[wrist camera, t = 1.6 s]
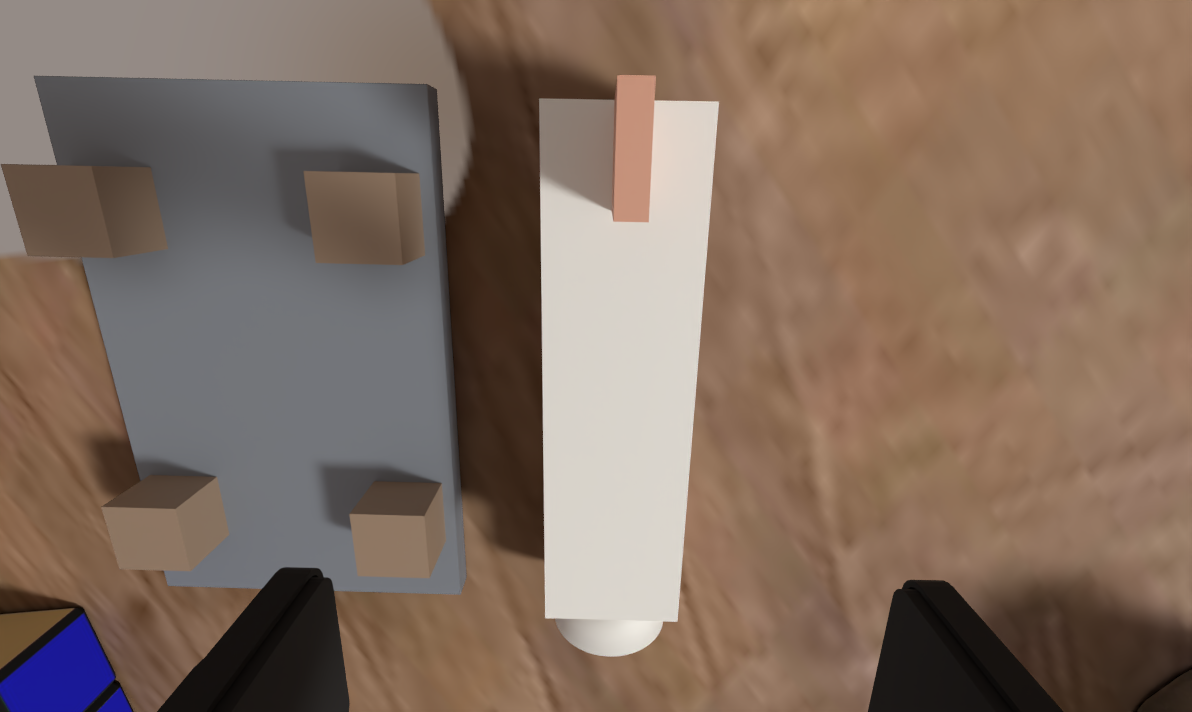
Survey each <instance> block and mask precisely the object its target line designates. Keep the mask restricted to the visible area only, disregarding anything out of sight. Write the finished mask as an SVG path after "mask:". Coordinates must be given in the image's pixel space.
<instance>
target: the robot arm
mask: <svg viewBox="0 0 1192 712" xmlns="http://www.w3.org/2000/svg"><path fill="white" fill-rule="evenodd" d="M157 712H349V695H348V688H347V681H346V674H345V667H344V660H343V652H342V645H341V638H340V631H339V624H338V617H337V610H336V603H335V596H334V589H333V583H332V580H331V579H330V578H328V577H323V573H322V571H321V570H320V569H318V568H298V567H283V568H281V569H279V570H278V571H277V572H276V573H275V574H274V575H273V576H272V578H271V579H270V580H269V581H268V582H267V584H266V585H265V586H264V587H263V588H262V590H261V591H260V592H259V593H258V594H257V596H256V597H255V598H254V599H253V600H252V602H251V603H250V604H249V605H248V606H247V608H246V609H245V610H244V611H243V612H242V614H241V615H240V616H239V617H238V618H237V620H236V621H235V622H234V623H233V624H232V626H231V627H230V628H229V629H228V630H227V632H226V633H225V634H224V635H223V636H222V638H221V639H220V640H219V641H218V642H217V644H216V645H215V646H214V647H213V648H212V650H211V651H210V652H209V653H208V654H207V656H206V657H205V658H204V659H203V660H202V661H201V662H200V663H199V664H197V665H196V666H195V667H194V668H193V669H192V671H191V672H190V673H189V674H188V675H187V677H186V678H185V679H184V680H183V681H182V683H181V684H180V685H179V686H178V687H177V689H176V690H175V691H174V692H173V693H172V695H171V696H170V697H169V698H168V699H167V700H166V702H165V703H164V704H163V705H162V706H161V708H160V709H159V710H158V711H157ZM868 712H1063V711H1062V710H1061V708H1060V707H1059V706H1058V705H1057V704H1056V703H1055V702H1054V701H1053V699H1052V698H1051V697H1050V696H1049V695H1048V694H1047V693H1046V691H1045V690H1044V689H1043V688H1042V687H1041V686H1040V685H1039V684H1038V682H1037V681H1036V680H1035V679H1034V678H1033V677H1032V676H1031V675H1030V673H1029V672H1028V671H1027V670H1026V669H1025V668H1024V667H1023V665H1022V664H1021V663H1020V662H1019V661H1018V660H1017V659H1016V658H1015V656H1014V655H1013V654H1012V653H1011V652H1010V651H1009V650H1008V648H1007V647H1006V646H1005V645H1004V644H1003V643H1002V642H1001V641H1000V639H999V638H998V637H997V636H996V635H995V634H994V633H993V632H992V630H991V629H990V628H989V627H988V626H987V625H986V624H985V622H984V621H983V620H982V619H981V618H980V617H979V616H978V615H977V613H976V612H975V611H974V610H973V609H972V608H971V607H970V606H969V604H968V603H967V602H966V601H965V600H964V599H963V598H962V596H961V595H960V594H959V593H958V592H957V591H956V590H955V589H954V587H953V586H951V585H950V584H949V583H948V582H945V581H938V580H908V581H906V582H905V583H904V585H903V587H902V589H897V590H896V591H895V592H894V595H893V598H892V603H891V607H890V612H889V617H888V621H887V626H886V631H885V635H884V640H883V644H882V649H881V654H880V658H879V663H878V667H877V672H876V677H875V681H874V686H873V691H872V695H871V700H870V704H869V709H868Z"/></svg>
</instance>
